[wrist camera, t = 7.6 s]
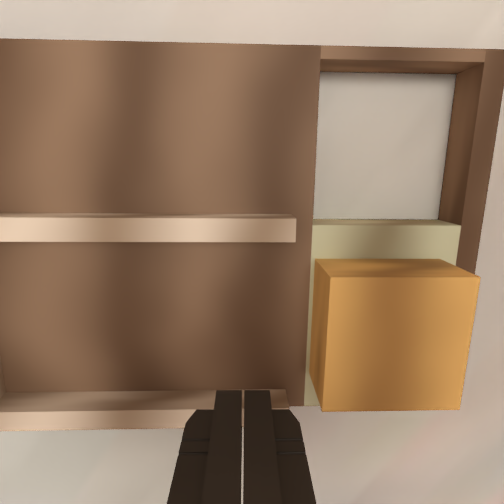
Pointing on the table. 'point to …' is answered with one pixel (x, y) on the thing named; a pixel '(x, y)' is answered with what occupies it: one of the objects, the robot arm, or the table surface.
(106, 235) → the compartment board
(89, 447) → the table surface
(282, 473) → the robot arm
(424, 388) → the ochre block
